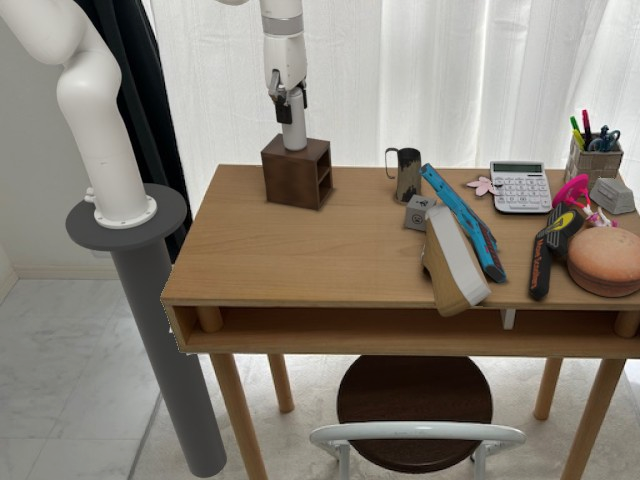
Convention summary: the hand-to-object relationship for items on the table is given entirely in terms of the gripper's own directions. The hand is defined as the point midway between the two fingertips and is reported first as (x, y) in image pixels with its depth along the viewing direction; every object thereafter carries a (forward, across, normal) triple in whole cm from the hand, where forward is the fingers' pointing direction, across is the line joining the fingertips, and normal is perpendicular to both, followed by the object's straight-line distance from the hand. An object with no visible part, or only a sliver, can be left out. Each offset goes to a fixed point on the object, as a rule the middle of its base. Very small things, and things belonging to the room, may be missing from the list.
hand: (292, 114), depth 125 cm
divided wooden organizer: (+19, 0, 0) cm, 19 cm away
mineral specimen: (+15, -15, +68) cm, 71 cm away
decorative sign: (+18, +7, +53) cm, 57 cm away
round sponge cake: (+10, +8, +66) cm, 67 cm away
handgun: (+10, +20, +41) cm, 47 cm away
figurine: (+14, -12, +57) cm, 60 cm away
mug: (+19, -6, +22) cm, 30 cm away
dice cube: (+19, +3, +28) cm, 34 cm away
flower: (+17, -16, +39) cm, 46 cm away
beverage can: (+7, 0, 0) cm, 7 cm away
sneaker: (+12, +16, +41) cm, 45 cm away
